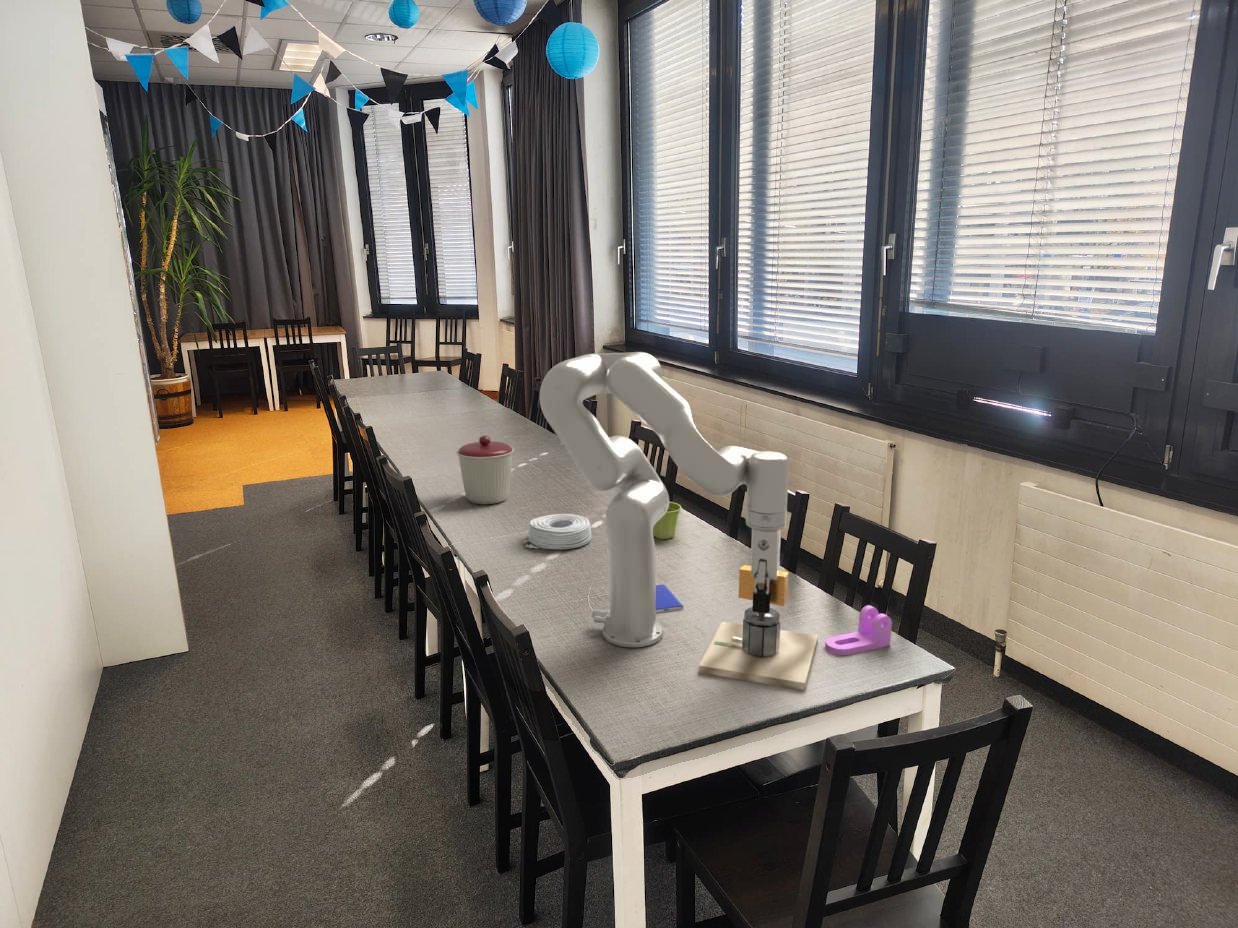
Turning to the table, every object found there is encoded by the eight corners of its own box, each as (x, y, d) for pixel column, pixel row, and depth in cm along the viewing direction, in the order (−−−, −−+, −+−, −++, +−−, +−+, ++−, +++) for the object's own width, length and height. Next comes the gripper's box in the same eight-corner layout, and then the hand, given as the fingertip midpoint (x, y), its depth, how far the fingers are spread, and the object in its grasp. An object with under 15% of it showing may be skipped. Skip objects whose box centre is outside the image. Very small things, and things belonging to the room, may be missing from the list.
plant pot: (681, 530, 236) (681, 501, 234) (680, 542, 227) (680, 512, 225) (648, 529, 237) (648, 500, 235) (646, 541, 228) (646, 511, 226)
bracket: (872, 634, 174) (875, 604, 172) (889, 646, 169) (892, 614, 167) (819, 645, 169) (821, 613, 167) (835, 657, 164) (837, 625, 162)
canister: (455, 494, 271) (452, 431, 266) (510, 489, 276) (508, 428, 271) (462, 511, 254) (458, 444, 249) (520, 505, 260) (518, 440, 254)
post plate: (698, 672, 158) (699, 634, 156) (721, 627, 177) (722, 593, 175) (804, 690, 152) (807, 650, 150) (817, 642, 170) (819, 606, 168)
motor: (778, 659, 159) (781, 581, 155) (726, 648, 163) (729, 571, 159) (787, 644, 165) (791, 568, 161) (738, 634, 169) (740, 559, 165)
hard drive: (632, 588, 195) (649, 609, 183) (664, 583, 197) (683, 605, 186) (632, 594, 195) (649, 616, 184) (664, 589, 198) (683, 611, 186)
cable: (519, 549, 223) (518, 528, 222) (540, 528, 240) (540, 508, 238) (581, 554, 219) (581, 533, 218) (599, 533, 235) (598, 512, 234)
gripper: (784, 533, 148) (779, 624, 152) (788, 504, 164) (784, 587, 169) (741, 530, 149) (738, 620, 154) (750, 502, 166) (747, 584, 170)
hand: (762, 602), depth 161 cm, fingers open, 7 cm apart
